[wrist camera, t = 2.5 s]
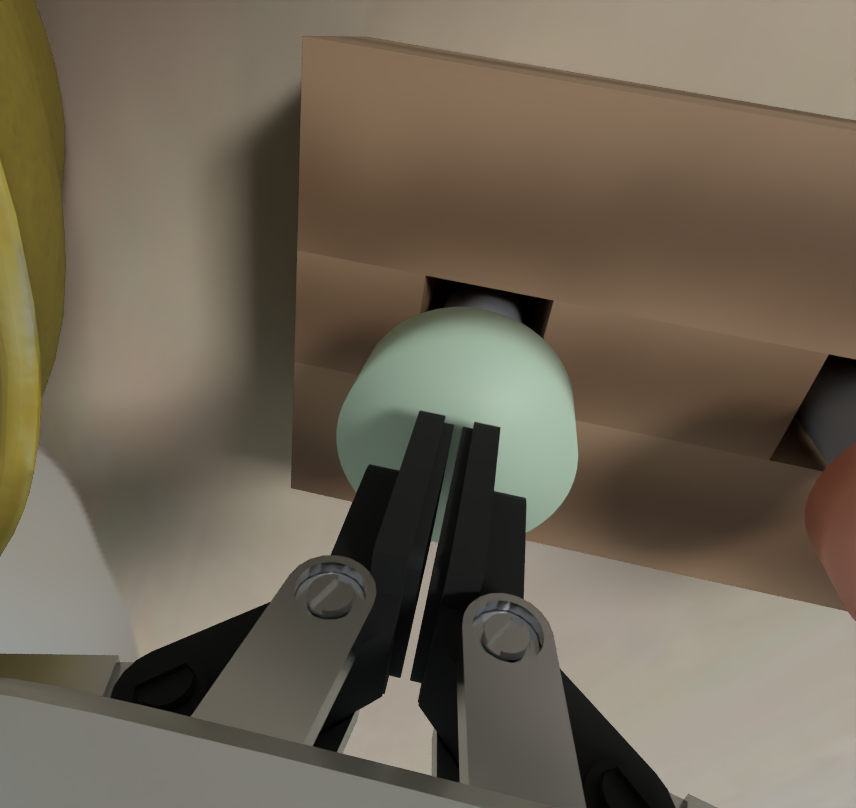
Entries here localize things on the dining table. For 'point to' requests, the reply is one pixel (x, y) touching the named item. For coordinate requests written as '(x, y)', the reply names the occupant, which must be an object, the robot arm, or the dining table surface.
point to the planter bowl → (27, 245)
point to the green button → (468, 398)
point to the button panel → (592, 283)
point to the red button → (834, 473)
